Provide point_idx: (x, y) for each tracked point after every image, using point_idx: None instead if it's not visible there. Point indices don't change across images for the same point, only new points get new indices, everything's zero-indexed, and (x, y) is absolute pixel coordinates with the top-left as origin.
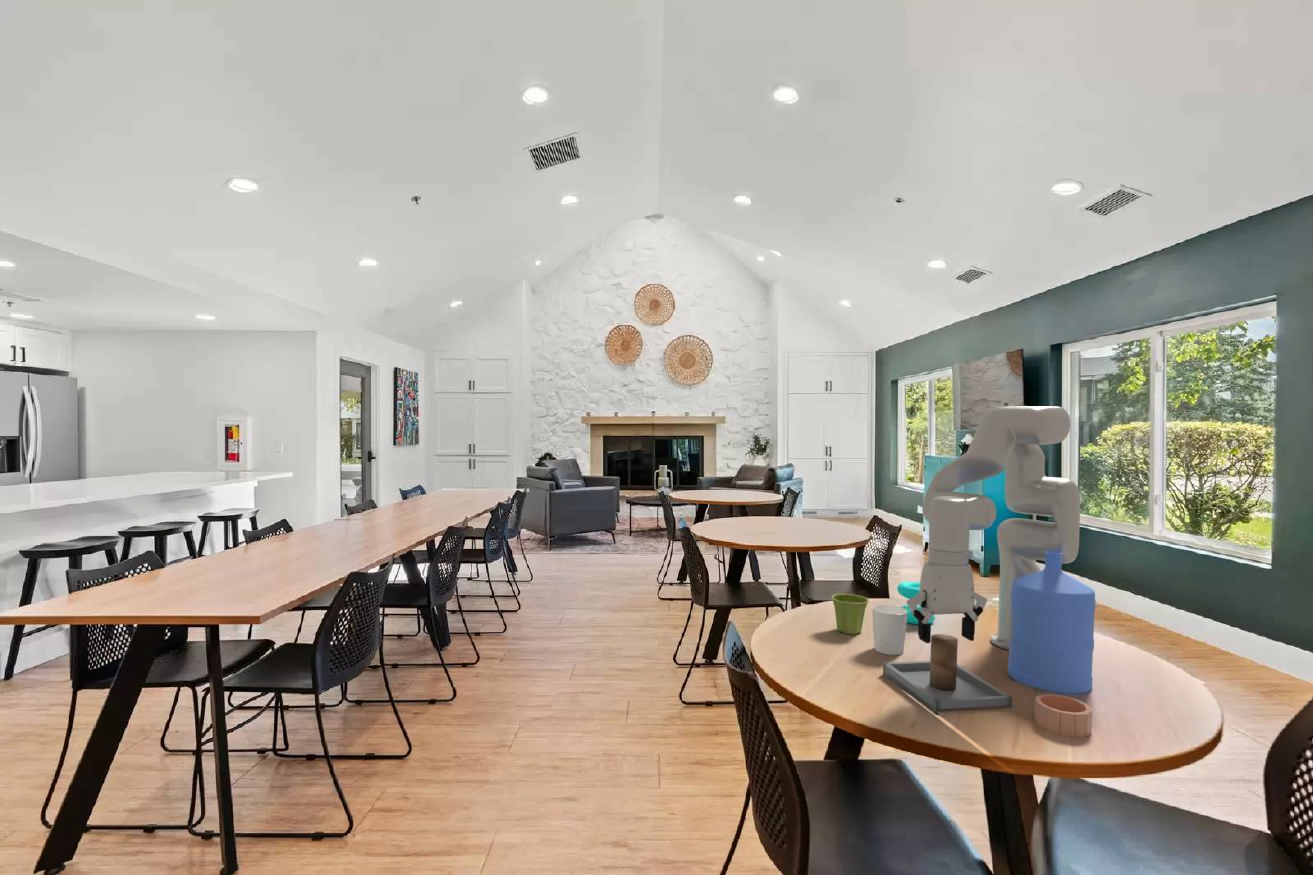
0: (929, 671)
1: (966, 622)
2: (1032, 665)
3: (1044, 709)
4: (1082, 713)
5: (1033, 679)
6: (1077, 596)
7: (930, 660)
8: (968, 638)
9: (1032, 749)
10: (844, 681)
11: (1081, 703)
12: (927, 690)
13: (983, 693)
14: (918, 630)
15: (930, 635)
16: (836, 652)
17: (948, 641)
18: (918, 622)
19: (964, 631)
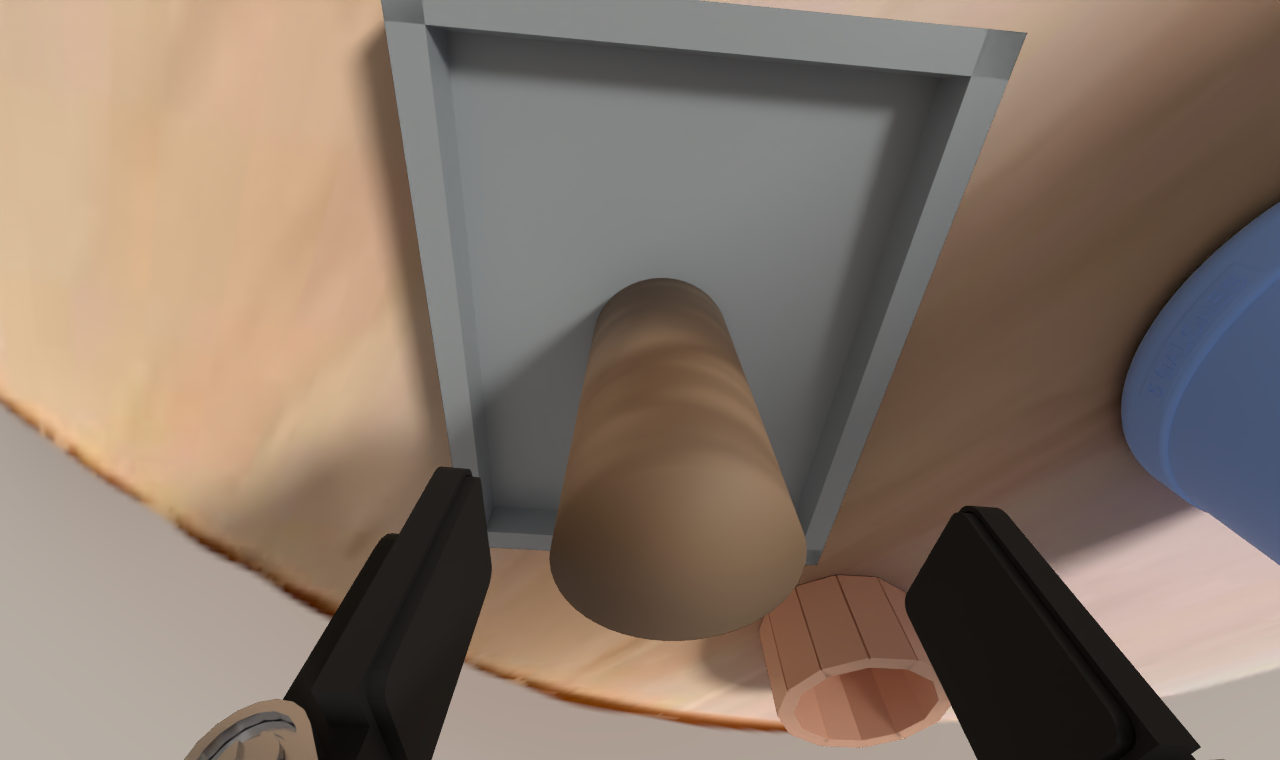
0: (751, 106)
1: (1040, 748)
2: (1239, 475)
3: (776, 699)
4: (850, 744)
5: (1156, 434)
6: None
7: (586, 384)
8: (916, 594)
9: (639, 673)
10: (92, 72)
11: (931, 712)
12: (543, 371)
13: (794, 443)
14: (356, 587)
15: (468, 644)
16: None
17: (646, 629)
18: (288, 697)
19: (971, 597)
